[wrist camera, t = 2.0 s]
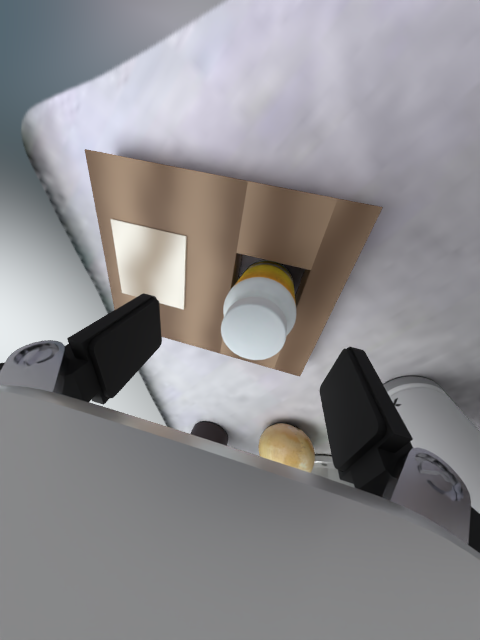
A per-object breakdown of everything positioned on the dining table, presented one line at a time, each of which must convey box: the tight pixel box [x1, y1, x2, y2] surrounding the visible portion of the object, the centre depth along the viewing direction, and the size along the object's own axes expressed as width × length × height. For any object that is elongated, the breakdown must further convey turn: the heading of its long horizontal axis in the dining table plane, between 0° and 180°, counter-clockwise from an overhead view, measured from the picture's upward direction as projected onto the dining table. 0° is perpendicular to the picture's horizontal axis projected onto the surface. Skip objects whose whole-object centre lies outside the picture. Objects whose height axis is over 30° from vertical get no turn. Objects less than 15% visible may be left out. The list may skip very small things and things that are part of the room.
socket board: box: [85, 149, 383, 376], centre depth 19 cm, size 22×16×3 cm
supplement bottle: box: [221, 260, 296, 360], centre depth 15 cm, size 5×5×10 cm
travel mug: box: [383, 376, 480, 514], centre depth 14 cm, size 6×7×20 cm
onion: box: [259, 423, 315, 473], centre depth 28 cm, size 8×8×7 cm
